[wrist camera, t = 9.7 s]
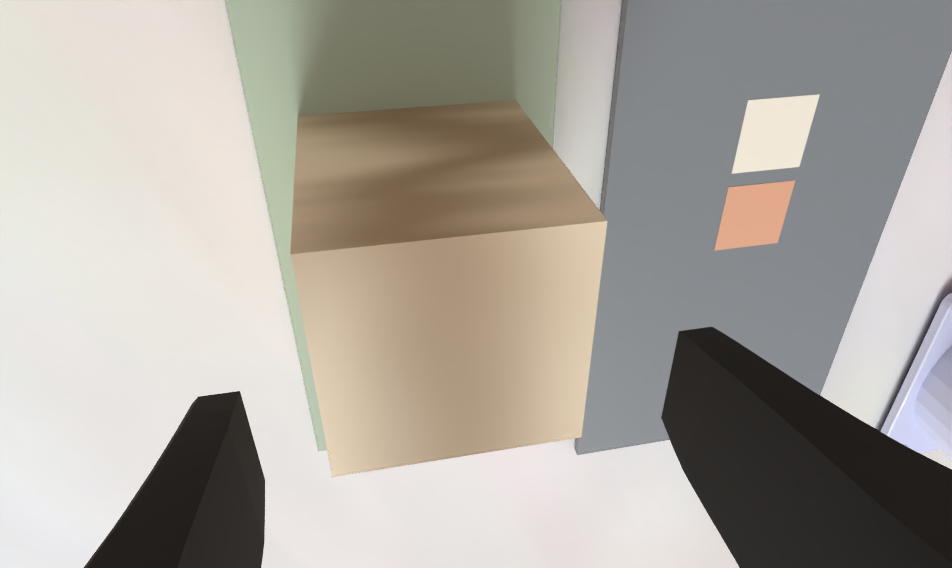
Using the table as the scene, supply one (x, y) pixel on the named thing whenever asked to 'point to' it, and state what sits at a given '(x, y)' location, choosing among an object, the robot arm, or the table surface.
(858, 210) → the grey plate
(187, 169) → the table surface
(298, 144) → the maple block
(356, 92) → the mat
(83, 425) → the table surface
